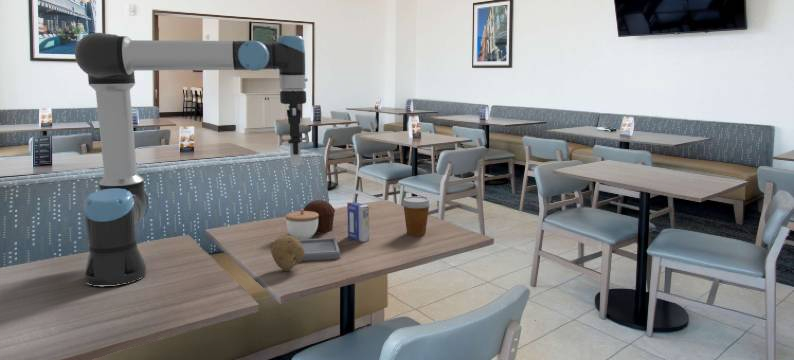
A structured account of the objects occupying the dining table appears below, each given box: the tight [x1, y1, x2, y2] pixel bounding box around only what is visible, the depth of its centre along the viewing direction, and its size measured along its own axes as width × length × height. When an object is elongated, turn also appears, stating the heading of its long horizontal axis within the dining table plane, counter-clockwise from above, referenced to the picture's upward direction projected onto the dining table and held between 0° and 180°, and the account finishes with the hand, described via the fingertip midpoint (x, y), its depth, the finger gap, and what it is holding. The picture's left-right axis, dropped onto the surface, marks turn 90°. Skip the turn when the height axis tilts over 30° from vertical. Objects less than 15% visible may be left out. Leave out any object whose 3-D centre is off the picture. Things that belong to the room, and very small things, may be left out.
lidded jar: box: [285, 208, 319, 240], centre depth 195 cm, size 11×11×9 cm
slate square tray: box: [298, 237, 341, 262], centre depth 180 cm, size 14×14×2 cm
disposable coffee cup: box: [401, 195, 431, 237], centre depth 199 cm, size 10×10×12 cm
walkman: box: [346, 201, 370, 243], centre depth 193 cm, size 8×3×12 cm, turn 43°
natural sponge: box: [270, 234, 305, 272], centre depth 164 cm, size 9×9×10 cm
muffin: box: [303, 199, 336, 234], centre depth 204 cm, size 12×11×10 cm
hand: (295, 161), depth 176 cm, fingers open, 13 cm apart
